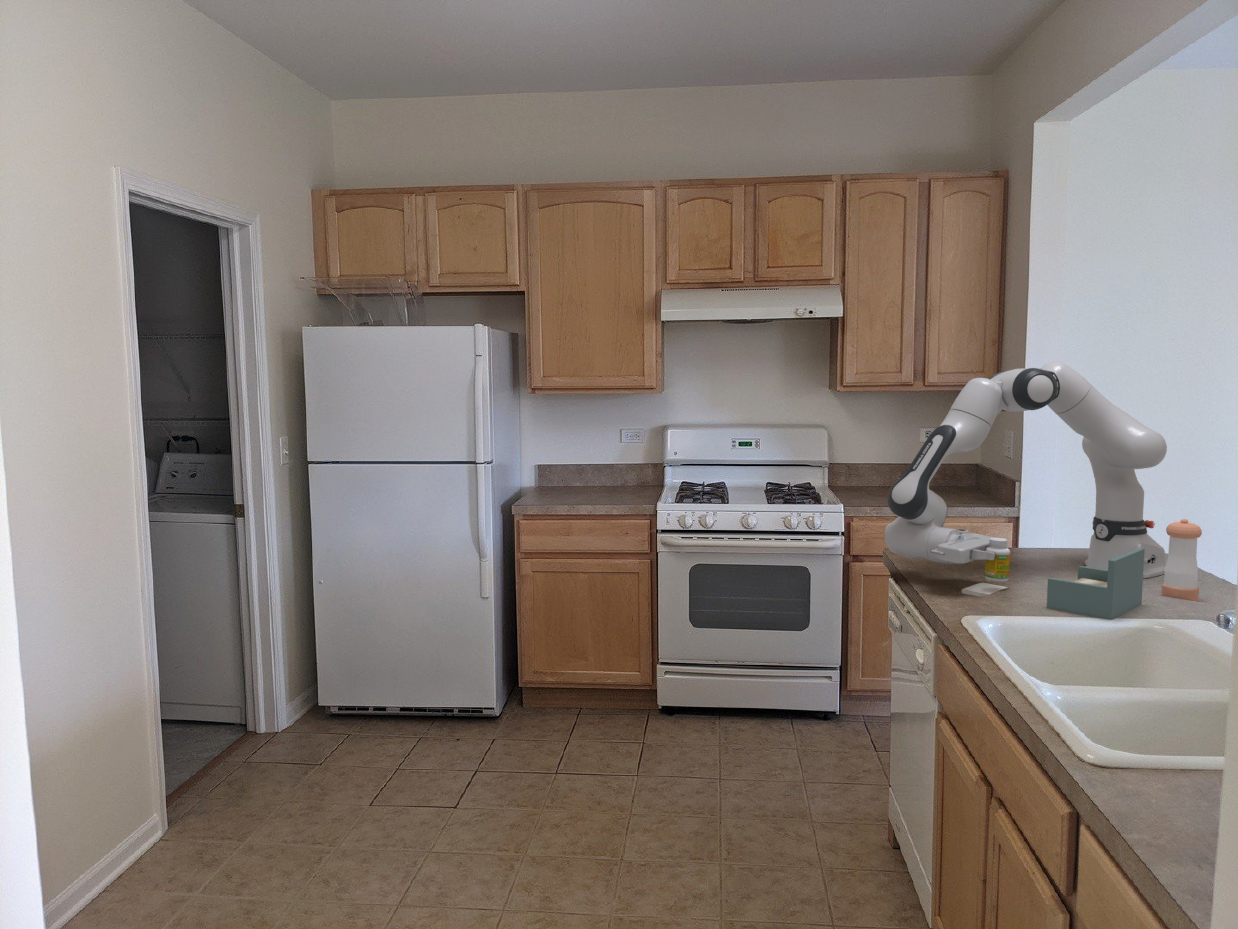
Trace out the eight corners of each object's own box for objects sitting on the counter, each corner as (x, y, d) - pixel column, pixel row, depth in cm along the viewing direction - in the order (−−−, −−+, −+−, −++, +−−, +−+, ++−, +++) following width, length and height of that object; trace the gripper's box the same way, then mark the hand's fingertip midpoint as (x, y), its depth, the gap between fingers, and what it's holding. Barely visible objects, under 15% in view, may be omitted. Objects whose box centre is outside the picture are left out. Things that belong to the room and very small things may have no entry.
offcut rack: (1046, 614, 195) (1049, 551, 194) (1078, 599, 207) (1081, 540, 206) (1111, 626, 185) (1114, 561, 184) (1141, 610, 198) (1144, 548, 196)
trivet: (961, 593, 214) (961, 589, 214) (980, 586, 220) (981, 582, 220) (1002, 601, 206) (1003, 596, 206) (1021, 593, 213) (1021, 589, 213)
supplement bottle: (997, 582, 209) (998, 542, 207) (979, 577, 213) (981, 538, 212) (1014, 580, 211) (1015, 540, 210) (996, 575, 216) (998, 536, 215)
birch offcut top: (1060, 592, 196) (1060, 585, 196) (1082, 584, 203) (1082, 578, 203) (1103, 600, 189) (1103, 593, 189) (1124, 591, 196) (1124, 585, 196)
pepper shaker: (1163, 595, 211) (1168, 515, 209) (1199, 600, 206) (1205, 518, 204) (1158, 601, 205) (1163, 519, 203) (1195, 606, 201) (1201, 523, 199)
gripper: (926, 538, 214) (981, 547, 203) (966, 528, 227) (1020, 535, 217) (925, 564, 214) (980, 574, 204) (965, 552, 228) (1019, 561, 218)
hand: (1001, 554), depth 211 cm, fingers closed on supplement bottle, 5 cm apart
